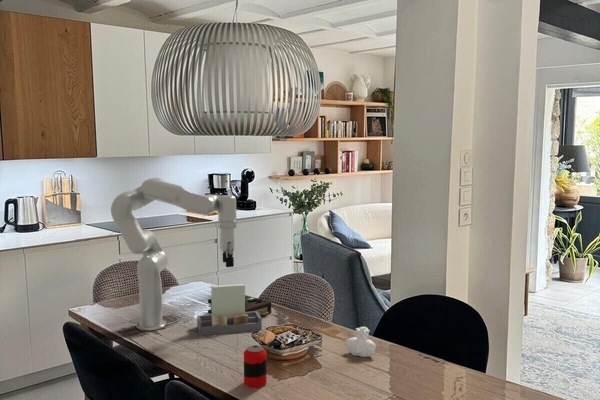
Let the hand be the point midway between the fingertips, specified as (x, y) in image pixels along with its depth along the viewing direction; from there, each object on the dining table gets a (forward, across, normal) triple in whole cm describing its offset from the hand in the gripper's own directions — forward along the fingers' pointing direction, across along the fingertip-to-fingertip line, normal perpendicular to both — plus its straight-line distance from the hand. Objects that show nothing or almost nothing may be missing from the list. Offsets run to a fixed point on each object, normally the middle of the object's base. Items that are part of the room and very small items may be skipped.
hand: (228, 264), depth 240 cm
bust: (+29, +41, +45) cm, 67 cm away
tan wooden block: (+27, +5, +4) cm, 28 cm away
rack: (+28, +2, 0) cm, 28 cm away
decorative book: (+29, -20, +8) cm, 36 cm away
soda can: (+29, +57, +1) cm, 64 cm away
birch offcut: (+27, +5, -5) cm, 28 cm away
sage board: (+27, 0, 0) cm, 27 cm away
